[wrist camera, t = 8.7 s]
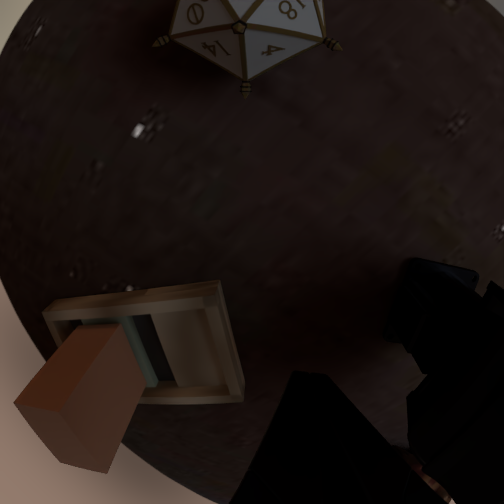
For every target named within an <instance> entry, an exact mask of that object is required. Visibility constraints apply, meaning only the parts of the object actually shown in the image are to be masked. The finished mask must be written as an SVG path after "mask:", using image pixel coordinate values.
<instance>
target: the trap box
mask: <svg viewBox="0 0 504 504" xmlns="http://www.w3.org/2000/svg"><path fill="white" fill-rule="evenodd" d="M42 315H43V317H44V319H45V321H46V324H47V326H48V328H49V330H50V332H51V335H52V337H53V339H54V341H55V343H56V345H57V347H58V348H59V347H60V346H61V345H62V344H63V342H64V341H65V340H66V339H67V338H68V337H69V336H70V334H71V333H72V332H73V331H74V330H75V329H76V328H77V327H78V326H80V325H99V324H115V323H121V324H122V327H123V329H124V332H125V334H126V337H127V339H128V341H129V344H130V346H131V349H132V351H133V353H134V356H135V358H136V360H137V362H138V365H139V367H140V369H141V371H142V373H143V376H144V378H145V380H146V382H147V384H146V386H145V389H144V391H143V393H142V395H141V397H140V400H139V402H138V404H216V403H235V402H243V401H244V391H245V379H244V375H243V371H242V367H241V364H240V360H239V356H238V352H237V348H236V344H235V340H234V336H233V332H232V328H231V324H230V320H229V315H228V311H227V307H226V303H225V299H224V295H223V290H222V286H221V282H220V280H213V281H206V282H198V283H190V284H183V285H175V286H167V287H159V288H151V289H143V290H135V291H126V292H118V293H109V294H100V295H91V296H82V297H73V298H64V299H56V300H54V301H53V302H52V303H51V304H50V305H49V306H48V307H46V308H45V309H44V310H43V311H42Z"/></svg>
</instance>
